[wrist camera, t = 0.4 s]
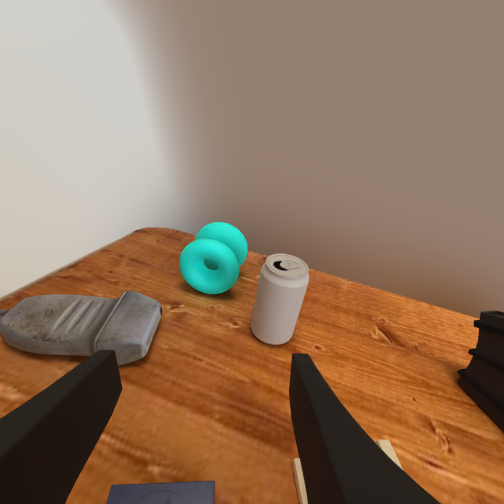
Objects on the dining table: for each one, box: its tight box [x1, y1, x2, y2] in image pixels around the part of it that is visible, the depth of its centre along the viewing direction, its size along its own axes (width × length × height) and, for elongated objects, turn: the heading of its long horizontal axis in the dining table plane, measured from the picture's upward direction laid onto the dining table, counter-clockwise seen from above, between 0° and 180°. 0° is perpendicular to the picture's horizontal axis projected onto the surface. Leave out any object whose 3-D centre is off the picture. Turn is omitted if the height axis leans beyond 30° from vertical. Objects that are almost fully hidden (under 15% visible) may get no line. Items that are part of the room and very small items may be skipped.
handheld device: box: [0, 291, 162, 366], centre depth 35 cm, size 10×20×5 cm, turn 91°
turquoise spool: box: [179, 222, 248, 294], centre depth 48 cm, size 10×10×10 cm
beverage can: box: [251, 254, 309, 345], centre depth 38 cm, size 6×6×12 cm
